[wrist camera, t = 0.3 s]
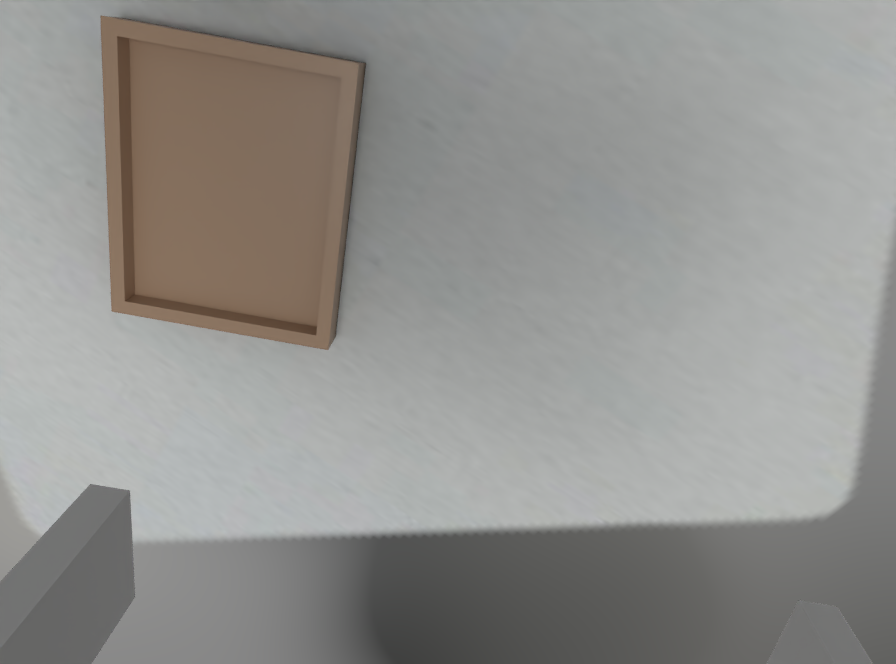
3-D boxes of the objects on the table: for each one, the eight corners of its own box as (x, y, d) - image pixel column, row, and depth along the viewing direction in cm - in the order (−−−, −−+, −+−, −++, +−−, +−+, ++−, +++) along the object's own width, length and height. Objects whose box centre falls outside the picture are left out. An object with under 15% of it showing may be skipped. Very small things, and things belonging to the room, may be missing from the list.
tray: (121, 18, 34) (100, 15, 32) (365, 63, 34) (359, 63, 32) (128, 299, 40) (111, 311, 38) (335, 336, 40) (328, 349, 39)
